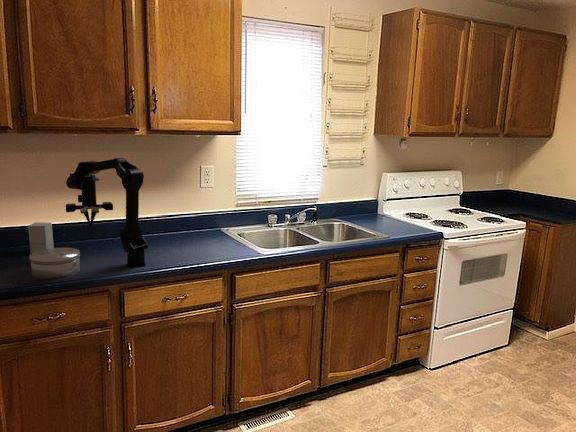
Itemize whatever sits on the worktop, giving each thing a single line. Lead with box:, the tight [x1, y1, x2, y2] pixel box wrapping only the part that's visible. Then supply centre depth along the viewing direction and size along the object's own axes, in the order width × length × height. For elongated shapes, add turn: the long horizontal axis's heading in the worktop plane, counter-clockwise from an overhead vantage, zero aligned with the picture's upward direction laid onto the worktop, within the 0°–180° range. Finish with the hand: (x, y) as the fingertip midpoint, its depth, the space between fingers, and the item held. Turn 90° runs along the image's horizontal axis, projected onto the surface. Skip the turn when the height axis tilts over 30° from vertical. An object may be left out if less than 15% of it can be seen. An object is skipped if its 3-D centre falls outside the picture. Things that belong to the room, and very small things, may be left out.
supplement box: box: [27, 221, 55, 254], centre depth 212 cm, size 7×7×13 cm
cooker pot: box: [29, 254, 81, 280], centre depth 189 cm, size 18×25×6 cm
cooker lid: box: [28, 247, 81, 263], centre depth 185 cm, size 18×18×1 cm
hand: (90, 226), depth 206 cm, fingers closed
